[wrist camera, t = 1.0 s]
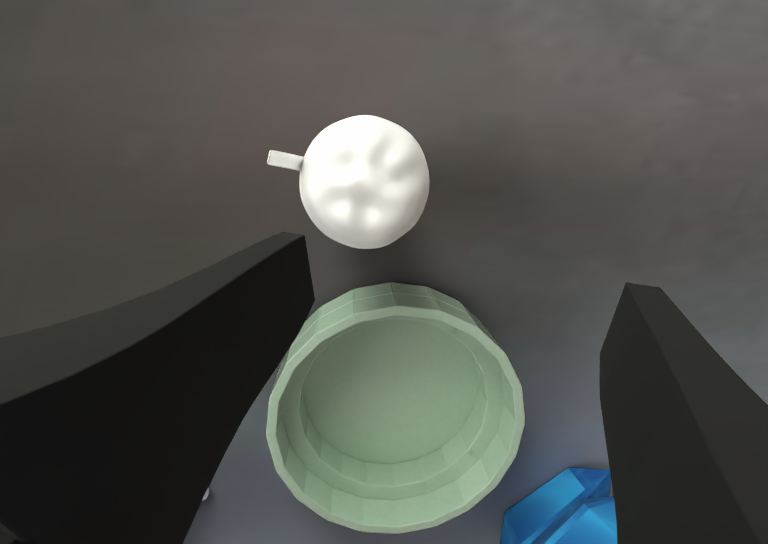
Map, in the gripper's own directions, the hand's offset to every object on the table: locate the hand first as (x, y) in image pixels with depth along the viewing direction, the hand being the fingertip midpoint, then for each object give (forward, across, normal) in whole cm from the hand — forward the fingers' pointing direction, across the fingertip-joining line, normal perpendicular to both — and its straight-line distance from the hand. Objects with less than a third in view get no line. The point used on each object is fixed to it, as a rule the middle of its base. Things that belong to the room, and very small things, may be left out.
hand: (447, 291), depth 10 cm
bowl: (+9, +4, +15) cm, 18 cm away
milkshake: (+12, +7, +3) cm, 15 cm away
